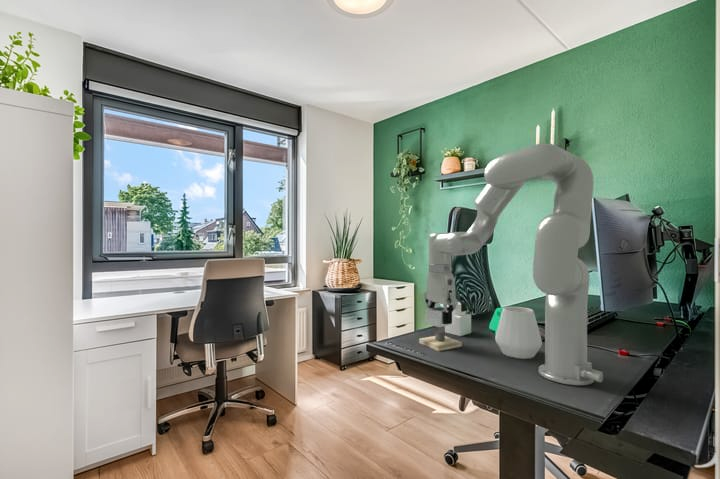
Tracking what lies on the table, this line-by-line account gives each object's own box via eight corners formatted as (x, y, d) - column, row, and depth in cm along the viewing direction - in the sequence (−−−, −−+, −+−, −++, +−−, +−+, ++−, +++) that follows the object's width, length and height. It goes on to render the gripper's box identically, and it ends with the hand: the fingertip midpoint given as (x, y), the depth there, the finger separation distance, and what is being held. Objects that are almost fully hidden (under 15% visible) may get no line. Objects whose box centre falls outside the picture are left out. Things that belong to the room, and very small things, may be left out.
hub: (454, 324, 119) (454, 309, 119) (439, 327, 115) (438, 311, 115) (440, 320, 125) (440, 306, 125) (425, 322, 122) (425, 308, 122)
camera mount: (527, 338, 128) (527, 310, 128) (509, 340, 126) (508, 311, 126) (506, 330, 139) (506, 304, 139) (489, 331, 138) (489, 305, 138)
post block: (461, 346, 118) (461, 324, 118) (438, 351, 113) (438, 327, 113) (441, 338, 127) (441, 318, 127) (419, 343, 122) (419, 321, 122)
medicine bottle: (455, 329, 140) (455, 299, 140) (471, 333, 134) (471, 301, 134) (444, 332, 135) (444, 301, 135) (460, 336, 130) (460, 304, 130)
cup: (551, 361, 104) (551, 313, 104) (505, 361, 104) (505, 314, 104) (529, 346, 117) (528, 305, 117) (488, 347, 117) (488, 305, 117)
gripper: (467, 270, 114) (466, 325, 114) (431, 266, 129) (431, 315, 130) (449, 271, 111) (449, 328, 111) (415, 267, 126) (415, 317, 126)
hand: (439, 320), depth 120 cm, fingers closed on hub, 7 cm apart
